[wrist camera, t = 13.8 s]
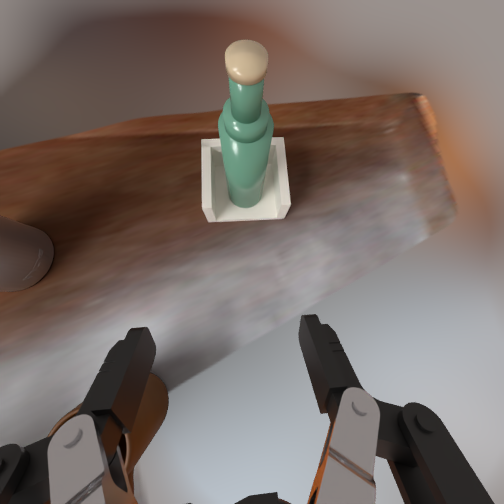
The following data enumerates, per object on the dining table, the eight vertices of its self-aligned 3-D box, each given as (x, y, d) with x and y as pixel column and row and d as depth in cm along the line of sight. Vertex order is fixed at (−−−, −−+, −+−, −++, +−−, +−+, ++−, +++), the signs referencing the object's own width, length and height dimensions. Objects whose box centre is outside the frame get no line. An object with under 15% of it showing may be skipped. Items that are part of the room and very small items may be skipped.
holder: (283, 218, 33) (290, 204, 28) (208, 222, 32) (202, 208, 27) (278, 159, 35) (283, 137, 30) (207, 162, 34) (201, 139, 29)
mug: (182, 468, 25) (147, 564, 16) (116, 490, 25) (41, 602, 15) (165, 361, 28) (126, 392, 19) (105, 378, 27) (33, 419, 18)
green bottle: (223, 202, 32) (196, 75, 14) (234, 172, 33) (222, 18, 15) (256, 212, 32) (273, 96, 14) (266, 182, 33) (293, 38, 15)
